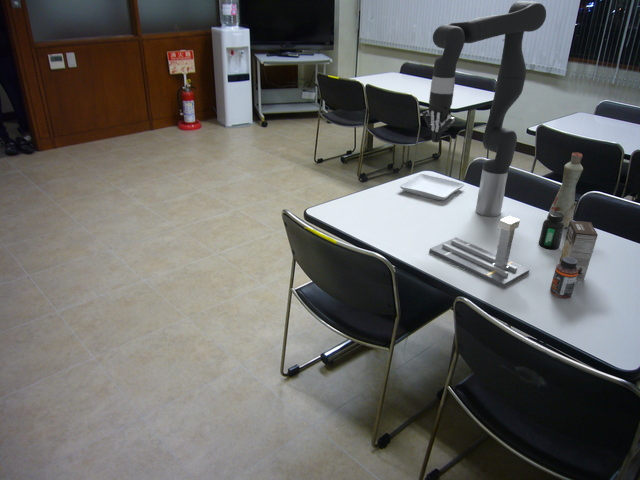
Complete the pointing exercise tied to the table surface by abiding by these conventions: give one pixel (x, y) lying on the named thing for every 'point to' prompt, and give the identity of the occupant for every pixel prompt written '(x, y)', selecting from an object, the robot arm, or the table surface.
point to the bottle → (568, 189)
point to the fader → (505, 241)
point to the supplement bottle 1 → (552, 231)
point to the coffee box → (579, 245)
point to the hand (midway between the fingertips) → (435, 141)
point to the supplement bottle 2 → (564, 278)
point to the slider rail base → (478, 262)
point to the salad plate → (431, 186)
